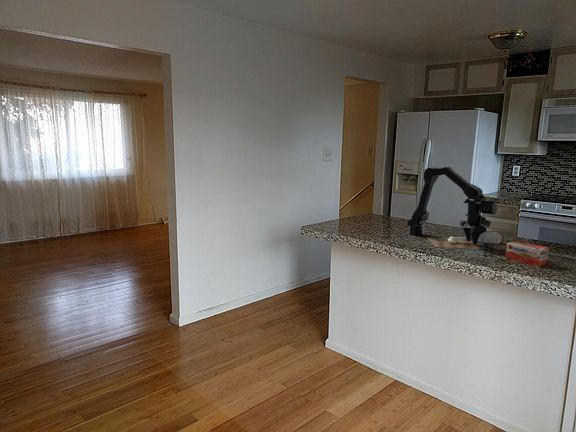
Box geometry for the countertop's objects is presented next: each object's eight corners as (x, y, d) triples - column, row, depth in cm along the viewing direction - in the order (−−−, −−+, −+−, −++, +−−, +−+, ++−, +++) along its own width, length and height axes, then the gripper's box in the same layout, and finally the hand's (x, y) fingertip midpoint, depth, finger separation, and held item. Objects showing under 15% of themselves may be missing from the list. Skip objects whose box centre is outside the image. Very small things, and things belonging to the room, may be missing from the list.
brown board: (434, 249, 207) (435, 246, 207) (426, 239, 227) (426, 237, 227) (480, 251, 205) (480, 248, 205) (467, 241, 225) (468, 238, 224)
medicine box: (504, 259, 193) (506, 242, 191) (513, 256, 197) (515, 240, 196) (538, 267, 180) (541, 249, 179) (547, 264, 185) (549, 247, 184)
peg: (450, 243, 213) (450, 238, 213) (446, 241, 218) (446, 236, 217) (473, 243, 214) (473, 238, 214) (468, 241, 219) (469, 236, 218)
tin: (501, 245, 218) (503, 229, 216) (502, 246, 215) (504, 230, 213) (470, 242, 223) (472, 227, 221) (471, 243, 220) (473, 228, 218)
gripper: (498, 215, 199) (496, 246, 201) (481, 209, 217) (479, 239, 220) (475, 215, 199) (473, 247, 201) (460, 210, 217) (458, 239, 220)
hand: (471, 242), depth 211 cm, fingers open, 7 cm apart
